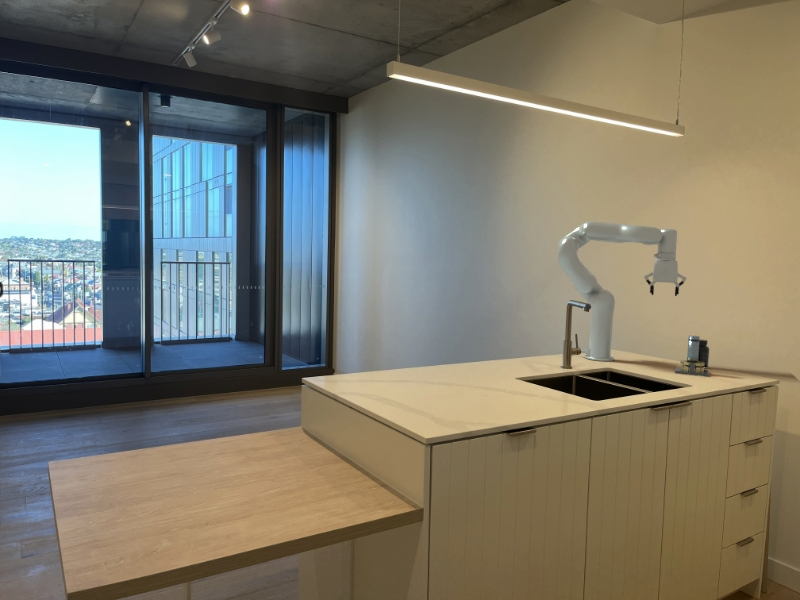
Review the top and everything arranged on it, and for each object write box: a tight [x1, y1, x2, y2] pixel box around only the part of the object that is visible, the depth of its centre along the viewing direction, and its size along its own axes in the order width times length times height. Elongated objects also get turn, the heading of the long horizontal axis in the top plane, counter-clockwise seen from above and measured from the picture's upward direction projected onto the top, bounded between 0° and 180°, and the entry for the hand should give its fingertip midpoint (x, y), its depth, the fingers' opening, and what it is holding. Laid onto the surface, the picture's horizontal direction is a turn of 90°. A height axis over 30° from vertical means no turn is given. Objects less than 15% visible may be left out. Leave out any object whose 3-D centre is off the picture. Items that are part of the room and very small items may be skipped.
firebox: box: [674, 359, 709, 377], centre depth 249 cm, size 12×12×4 cm
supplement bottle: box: [698, 338, 710, 367], centre depth 266 cm, size 7×7×12 cm
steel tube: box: [686, 335, 701, 367], centre depth 249 cm, size 4×4×14 cm
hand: (664, 295), depth 273 cm, fingers open, 9 cm apart
